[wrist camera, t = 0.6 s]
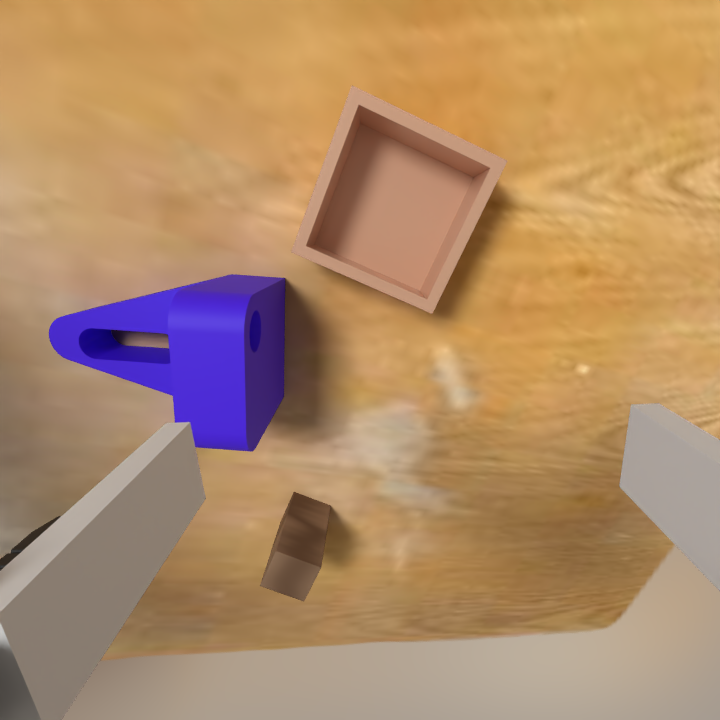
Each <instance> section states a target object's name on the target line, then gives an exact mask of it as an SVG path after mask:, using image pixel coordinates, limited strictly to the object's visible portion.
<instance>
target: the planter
mask: <svg viewBox="0 0 720 720" xmlns="http://www.w3.org/2000/svg"><path fill="white" fill-rule="evenodd" d="M506 163H507V160H505V159H503V158H501V157H499V156H497V155H494V154H492V153H490V152H488V151H486V150H484V149H482V148H480V147H478V146H476V145H474V144H472V143H470V142H468V141H466V140H464V139H461V138H459V137H457V136H455V135H453V134H451V133H449V132H447V131H445V130H443V129H441V128H439V127H437V126H435V125H433V124H431V123H428V122H426V121H424V120H422V119H420V118H418V117H416V116H414V115H412V114H410V113H408V112H406V111H404V110H402V109H400V108H398V107H396V106H393V105H391V104H389V103H387V102H385V101H383V100H381V99H379V98H377V97H375V96H373V95H371V94H369V93H367V92H365V91H363V90H360V89H358V88H356V87H354V86H351V89H350V92H349V95H348V97H347V100H346V103H345V106H344V108H343V111H342V114H341V117H340V119H339V122H338V125H337V128H336V130H335V133H334V136H333V139H332V141H331V144H330V147H329V150H328V152H327V155H326V158H325V161H324V163H323V166H322V169H321V172H320V174H319V177H318V180H317V183H316V185H315V188H314V191H313V194H312V196H311V199H310V202H309V204H308V207H307V210H306V213H305V215H304V218H303V221H302V224H301V226H300V229H299V232H298V235H297V237H296V240H295V243H294V246H293V248H292V251H291V252H292V253H294V254H297V255H299V256H301V257H303V258H306V259H308V260H310V261H313V262H315V263H317V264H319V265H322V266H324V267H326V268H329V269H331V270H333V271H335V272H338V273H340V274H342V275H345V276H347V277H349V278H351V279H354V280H356V281H358V282H361V283H363V284H365V285H367V286H370V287H372V288H374V289H376V290H379V291H381V292H383V293H386V294H388V295H390V296H392V297H395V298H397V299H399V300H402V301H404V302H406V303H408V304H411V305H413V306H415V307H418V308H420V309H422V310H424V311H427V312H429V313H431V314H432V313H433V311H434V309H435V307H436V305H437V303H438V301H439V299H440V297H441V295H442V293H443V291H444V289H445V287H446V285H447V283H448V281H449V279H450V277H451V275H452V273H453V271H454V269H455V266H456V264H457V262H458V260H459V258H460V256H461V254H462V252H463V250H464V248H465V246H466V244H467V242H468V240H469V238H470V236H471V234H472V232H473V230H474V228H475V226H476V224H477V222H478V220H479V218H480V216H481V214H482V211H483V209H484V207H485V205H486V203H487V201H488V199H489V197H490V195H491V193H492V191H493V189H494V187H495V185H496V183H497V181H498V179H499V177H500V175H501V173H502V171H503V169H504V167H505V165H506Z"/></svg>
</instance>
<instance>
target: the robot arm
mask: <svg viewBox="0 0 720 720" xmlns="http://www.w3.org/2000/svg"><path fill="white" fill-rule="evenodd" d="M619 487H620V488H621V489H622V490H623V491H624V492H625V493H626V494H627V495H628V496H629V497H630V498H631V499H632V500H633V501H634V502H635V504H636V505H637V506H638V507H639V508H640V509H641V510H642V511H643V512H644V513H645V514H646V515H647V516H648V517H649V518H650V519H651V520H652V521H653V522H654V523H655V524H656V525H657V526H658V527H659V529H660V530H661V531H662V532H663V533H664V534H665V535H666V536H667V537H668V538H669V539H670V540H671V541H672V542H673V543H674V544H675V545H676V546H677V547H678V548H679V549H680V550H681V551H682V552H683V553H684V554H685V556H686V557H688V559H689V560H690V561H691V562H692V563H693V564H694V565H695V566H696V567H697V568H698V569H699V570H700V571H701V572H702V573H703V574H704V575H705V576H706V577H707V578H708V579H709V580H710V582H712V584H713V585H714V586H715V587H716V588H717V589H718V590H719V591H720V440H719V439H717V438H716V437H714V436H712V435H711V434H709V433H707V432H706V431H704V430H702V429H701V428H699V427H697V426H696V425H694V424H692V423H691V422H689V421H687V420H686V419H684V418H682V417H680V416H679V415H677V414H675V413H674V412H672V411H670V410H669V409H667V408H665V407H664V406H662V405H660V404H659V403H656V404H631V409H630V416H629V423H628V429H627V436H626V443H625V450H624V457H623V464H622V471H621V478H620V485H619ZM205 499H206V497H205V492H204V488H203V483H202V478H201V473H200V468H199V463H198V458H197V453H196V448H195V443H194V438H193V433H192V429H191V424H190V422H180V423H166V424H164V425H163V426H162V427H161V428H160V429H159V430H158V431H157V432H156V433H154V434H153V435H152V436H151V437H150V438H149V439H148V440H147V441H145V442H144V443H143V444H142V445H141V446H140V447H139V448H138V449H136V450H135V451H134V452H133V453H132V454H131V455H130V456H129V457H127V458H126V459H125V460H124V461H123V462H122V463H121V464H120V465H118V466H117V467H116V468H115V469H114V470H113V471H112V472H111V473H109V474H108V475H107V476H106V477H105V478H104V479H103V480H102V481H100V482H99V483H98V484H97V485H96V486H95V487H94V488H93V489H91V490H90V491H89V492H88V493H87V494H86V495H85V496H84V497H82V498H81V499H80V500H79V501H78V502H77V503H76V504H75V505H74V506H72V507H71V508H70V509H69V510H68V511H67V512H66V513H65V514H63V515H62V516H58V517H56V518H55V519H53V520H51V521H50V522H48V523H46V524H45V525H43V526H41V527H40V528H38V529H36V530H35V531H33V532H32V533H30V534H29V535H28V536H27V537H26V538H25V539H23V540H22V541H21V542H20V543H19V544H18V545H17V546H15V547H14V548H13V549H12V550H11V553H10V554H6V555H5V556H4V557H3V558H1V559H0V720H62V718H63V717H64V715H65V714H66V712H67V711H68V709H69V708H70V706H71V704H72V703H73V701H74V700H75V698H76V697H77V695H78V694H79V692H80V691H81V689H82V687H83V686H84V684H85V683H86V682H87V680H88V678H89V677H90V675H91V674H92V672H93V671H94V669H95V668H96V666H97V665H98V663H99V662H100V660H101V659H102V657H103V655H104V654H105V652H106V651H107V649H108V648H109V646H110V645H111V643H112V642H113V640H114V639H115V637H116V635H117V634H118V632H119V631H120V629H121V628H122V626H123V625H124V623H125V622H126V620H127V619H128V617H129V616H130V614H131V612H132V611H133V609H134V608H135V606H136V605H137V603H138V602H139V600H140V599H141V597H142V596H143V594H144V593H145V591H146V589H147V588H148V586H149V585H150V583H151V582H152V580H153V579H154V577H155V576H156V574H157V573H158V571H159V569H160V568H161V566H162V565H163V563H164V562H165V560H166V559H167V557H168V556H169V554H170V553H171V551H172V550H173V548H174V546H175V545H176V543H177V542H178V540H179V539H180V537H181V536H182V534H183V533H184V531H185V530H186V528H187V526H188V525H189V523H190V522H191V520H192V519H193V517H194V516H195V514H196V513H197V511H198V510H199V508H200V507H201V505H202V503H203V502H204V500H205Z"/></svg>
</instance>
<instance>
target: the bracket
mask: <svg viewBox="0 0 720 720" xmlns="http://www.w3.org/2000/svg"><path fill="white" fill-rule="evenodd" d="M111 330H123V331H137V332H152V333H164V334H167V335H168V338H169V349H168V348H154V347H140V346H126V345H122V344H120V343H118V342H117V341H116V340H115V339H114V337H113V335H112V333H111ZM49 338H50V342H51V344H52V346H53V348H54V349H55V350H56V352H57V353H58V354H60V355H61V356H62V357H64V358H66V359H68V360H71V361H74V362H77V363H80V364H82V365H85V366H88V367H91V368H94V369H97V370H100V371H103V372H106V373H109V374H111V375H114V376H117V377H120V378H123V379H126V380H129V381H132V382H135V383H138V384H141V385H143V386H146V387H149V388H152V389H155V390H158V391H161V392H164V393H167V394H170V395H172V396H173V402H174V414H175V423H180V422H190V424H191V429H192V433H193V438H194V443H195V447H199V448H212V449H226V450H239V451H254V450H255V448H256V446H257V445H258V443H259V441H260V439H261V437H262V435H263V434H264V432H265V430H266V428H267V426H268V424H269V423H270V421H271V419H272V417H273V415H274V414H275V412H276V410H277V408H278V406H279V404H280V403H281V401H282V399H283V397H284V340H285V278H276V277H262V276H247V275H233V274H232V275H228V276H223V277H219V278H215V279H211V280H207V281H203V282H199V283H195V284H191V285H186V286H182V287H178V288H174V289H170V290H166V291H162V292H158V293H154V294H149V295H145V296H141V297H137V298H133V299H129V300H125V301H121V302H116V303H112V304H108V305H104V306H100V307H96V308H92V309H88V310H85V311H81V312H77V313H73V314H70V315H66V316H62V317H59V318H57V319H56V320H55V321H54V322H53V323H52V324H51V326H50V329H49Z"/></svg>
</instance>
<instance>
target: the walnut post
mask: <svg viewBox="0 0 720 720" xmlns="http://www.w3.org/2000/svg"><path fill="white" fill-rule="evenodd" d="M330 507H331V506H330V505H327V504H325V503H322V502H319V501H317V500H314V499H312V498H309V497H306V496H304V495H301V494H298V493H296V492H294V493H293V495H292V498H291V500H290V502H289V504H288V507H287V509H286V511H285V513H284V516H283V518H282V520H281V522H280V525H279V529H278V532H277V535H276V538H275V541H274V544H273V547H272V550H271V554H270V557H269V560H268V563H267V566H266V569H265V572H264V575H263V578H262V582H261V585H260V586H262V587H265V588H267V589H270V590H273V591H276V592H279V593H281V594H284V595H287V596H290V597H293V598H296V599H298V600H301V601H304V600H305V598H306V596H307V594H308V593H309V591H310V589H311V587H312V585H313V583H314V581H315V579H316V577H317V575H318V573H319V571H320V569H321V565H322V558H323V552H324V546H325V539H326V533H327V526H328V520H329V514H330Z"/></svg>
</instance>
